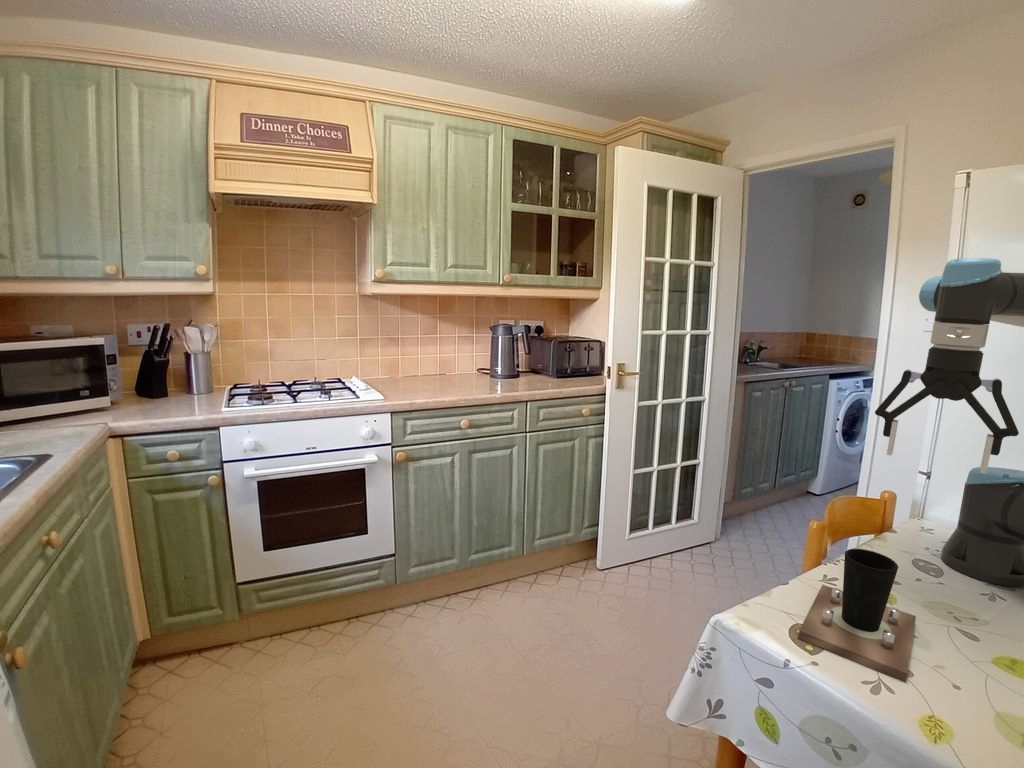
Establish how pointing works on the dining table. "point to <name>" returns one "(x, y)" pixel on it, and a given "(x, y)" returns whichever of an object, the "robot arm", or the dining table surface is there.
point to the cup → (866, 588)
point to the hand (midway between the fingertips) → (934, 462)
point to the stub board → (860, 635)
